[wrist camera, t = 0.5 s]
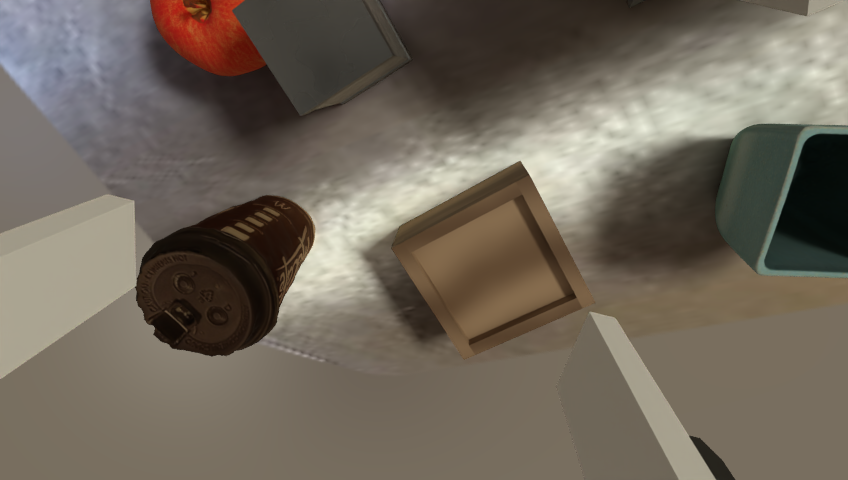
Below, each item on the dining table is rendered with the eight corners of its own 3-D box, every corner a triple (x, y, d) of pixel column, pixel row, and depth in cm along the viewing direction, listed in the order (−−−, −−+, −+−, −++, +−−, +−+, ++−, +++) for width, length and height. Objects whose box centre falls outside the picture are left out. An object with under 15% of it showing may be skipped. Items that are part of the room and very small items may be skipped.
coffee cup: (236, 272, 39) (135, 362, 27) (221, 181, 36) (100, 237, 24) (331, 276, 39) (272, 369, 26) (323, 184, 36) (253, 242, 23)
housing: (299, 28, 31) (231, 10, 22) (368, -22, 30) (326, -63, 21) (345, 103, 33) (300, 115, 24) (412, 60, 32) (392, 55, 22)
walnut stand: (399, 226, 36) (391, 248, 32) (520, 160, 34) (529, 174, 29) (463, 326, 39) (463, 359, 35) (578, 274, 37) (595, 302, 32)
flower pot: (800, 230, 34) (911, 283, 26) (683, 226, 34) (753, 276, 26) (841, 113, 31) (983, 129, 22) (710, 111, 31) (801, 125, 23)
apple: (309, -34, 30) (259, -67, 23) (294, 87, 33) (245, 92, 26) (196, -64, 30) (108, -108, 22) (191, 60, 33) (112, 57, 25)
